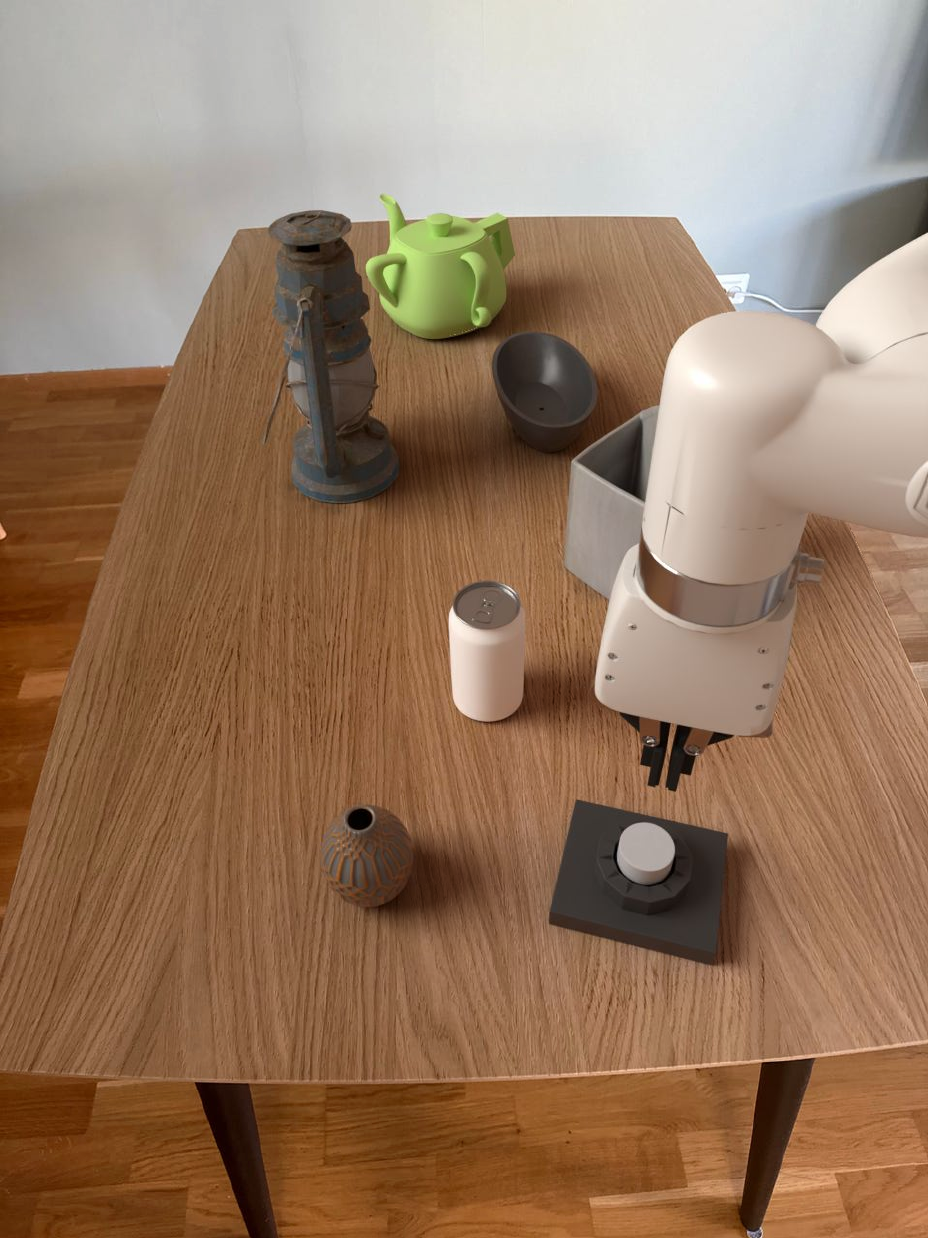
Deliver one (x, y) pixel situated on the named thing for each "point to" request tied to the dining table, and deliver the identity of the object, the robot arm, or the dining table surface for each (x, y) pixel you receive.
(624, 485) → the planter
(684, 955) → the button base
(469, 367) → the dining table surface
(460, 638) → the can
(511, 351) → the bowl
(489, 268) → the teapot
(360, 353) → the lantern
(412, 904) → the dining table surface
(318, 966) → the dining table surface
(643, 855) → the white button cap
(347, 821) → the vase
